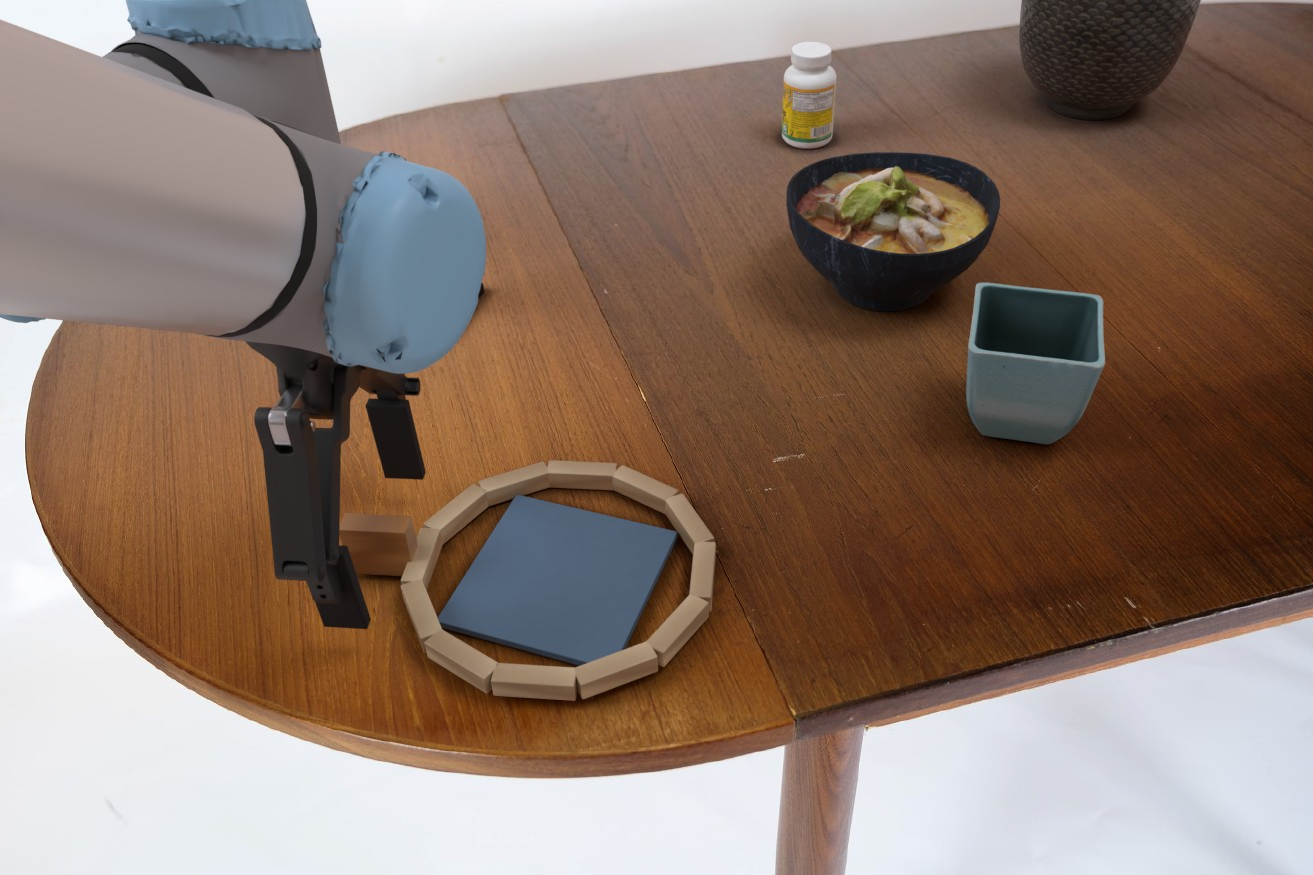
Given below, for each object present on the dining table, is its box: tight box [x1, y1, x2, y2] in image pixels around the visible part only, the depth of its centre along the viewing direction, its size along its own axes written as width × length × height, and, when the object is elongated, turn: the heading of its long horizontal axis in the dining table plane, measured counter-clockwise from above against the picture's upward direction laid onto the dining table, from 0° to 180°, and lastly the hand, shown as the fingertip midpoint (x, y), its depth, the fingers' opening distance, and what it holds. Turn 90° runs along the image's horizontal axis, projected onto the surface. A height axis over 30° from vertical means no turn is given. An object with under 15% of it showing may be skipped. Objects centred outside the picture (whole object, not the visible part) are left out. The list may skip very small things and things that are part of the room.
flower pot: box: [965, 282, 1106, 445], centre depth 81 cm, size 9×9×9 cm
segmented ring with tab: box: [339, 459, 717, 702], centre depth 73 cm, size 24×20×4 cm
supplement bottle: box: [781, 41, 837, 150], centre depth 116 cm, size 5×5×10 cm
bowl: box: [785, 151, 1001, 312], centre depth 95 cm, size 17×17×10 cm
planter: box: [1018, 0, 1202, 121], centre depth 118 cm, size 17×17×16 cm
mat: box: [437, 495, 679, 666], centre depth 74 cm, size 12×12×1 cm
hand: (378, 544), depth 73 cm, fingers open, 12 cm apart
